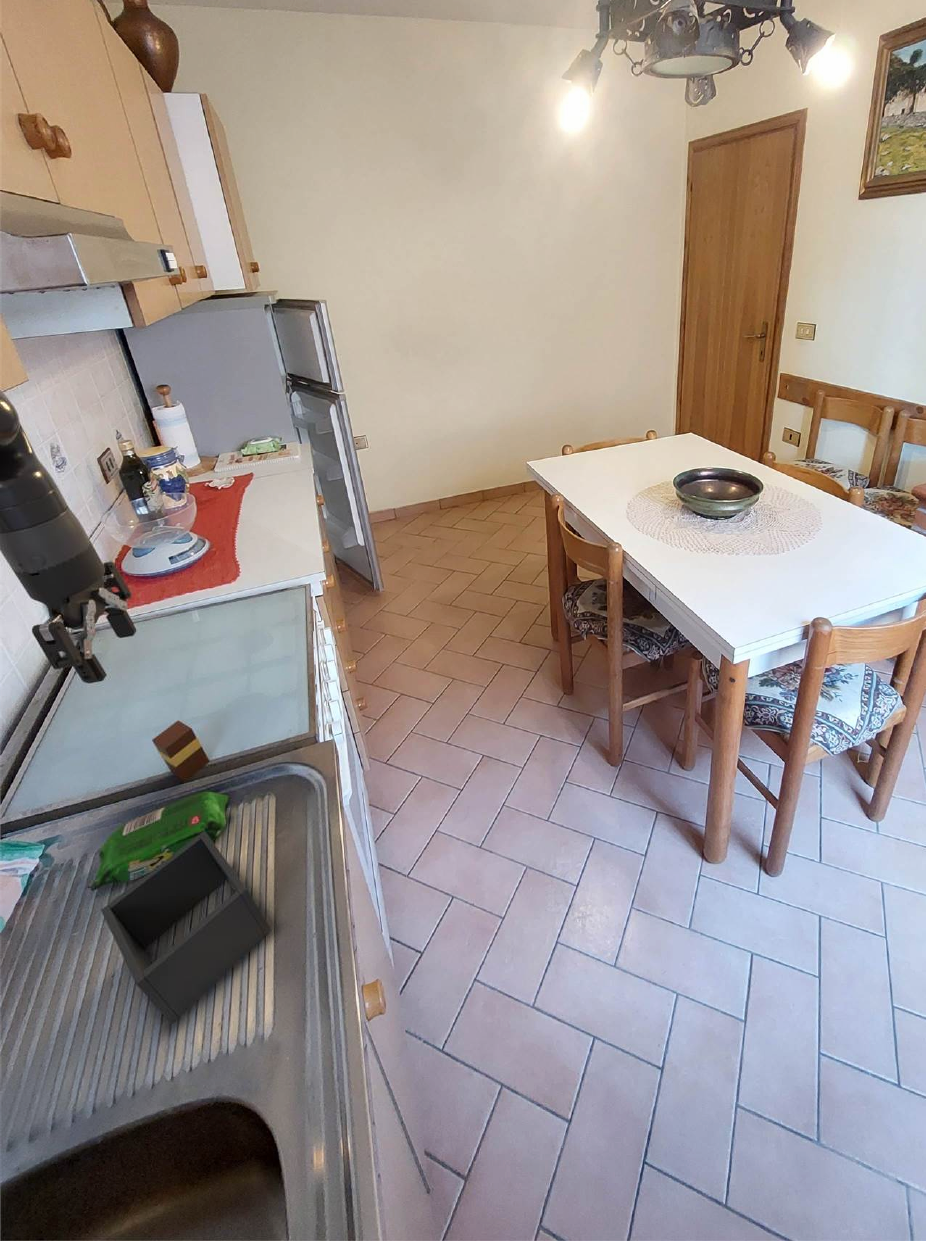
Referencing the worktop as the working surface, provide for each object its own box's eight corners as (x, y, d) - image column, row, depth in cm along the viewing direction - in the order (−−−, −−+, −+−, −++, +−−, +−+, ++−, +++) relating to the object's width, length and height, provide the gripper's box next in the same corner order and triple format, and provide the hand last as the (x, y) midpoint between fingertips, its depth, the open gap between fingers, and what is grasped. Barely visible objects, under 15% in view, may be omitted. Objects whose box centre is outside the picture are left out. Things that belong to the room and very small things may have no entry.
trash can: (176, 1029, 60) (136, 984, 55) (139, 956, 66) (100, 909, 61) (275, 936, 67) (246, 888, 62) (233, 877, 73) (204, 830, 69)
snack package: (106, 857, 77) (87, 834, 75) (232, 799, 83) (219, 776, 81) (99, 906, 72) (79, 883, 69) (235, 841, 78) (221, 817, 75)
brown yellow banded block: (188, 788, 86) (164, 749, 82) (174, 778, 87) (150, 740, 83) (213, 766, 89) (192, 728, 85) (199, 757, 90) (178, 719, 86)
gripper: (50, 526, 72) (108, 627, 80) (-27, 592, 60) (51, 704, 68) (114, 517, 73) (165, 617, 81) (50, 580, 61) (118, 691, 69)
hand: (113, 656), depth 74 cm, fingers open, 8 cm apart
